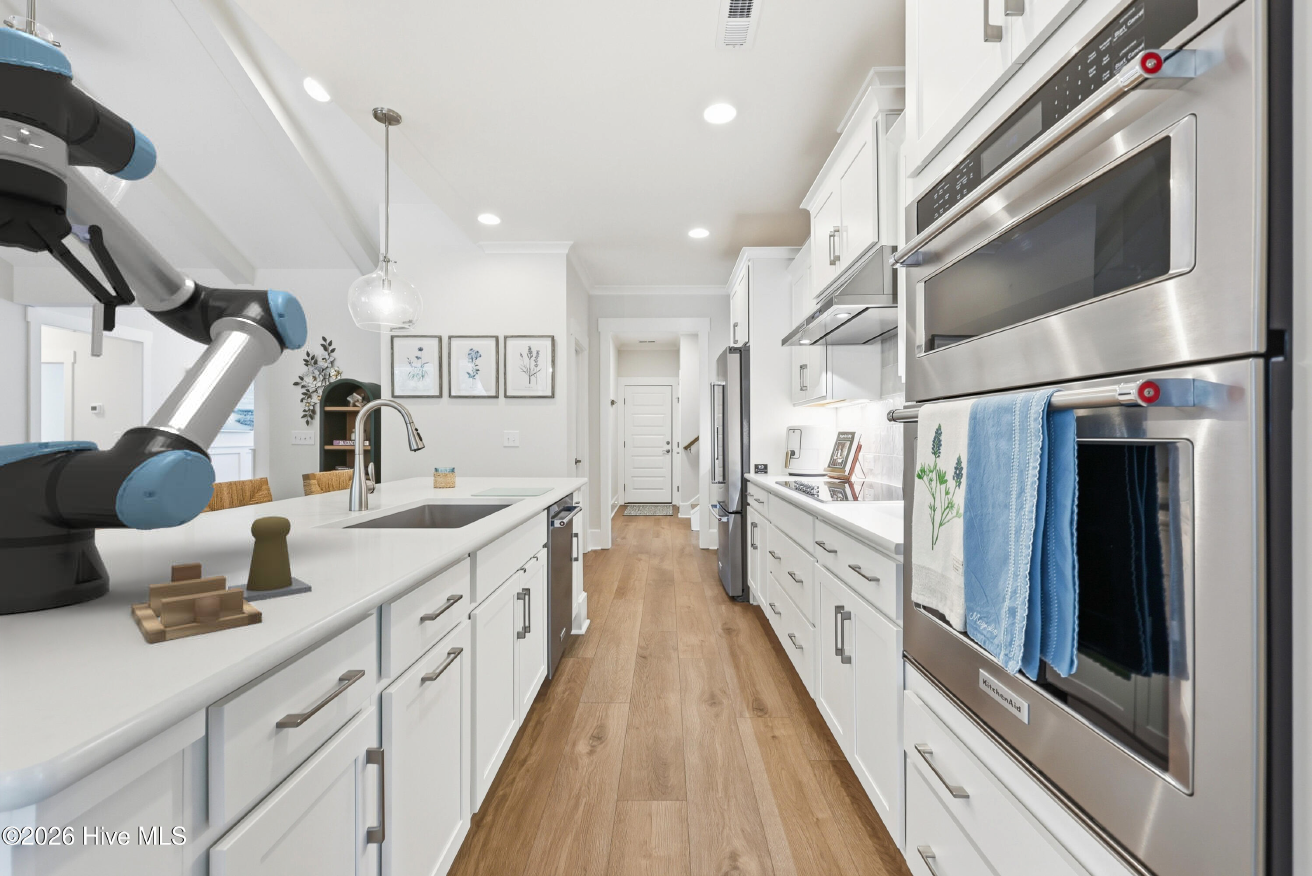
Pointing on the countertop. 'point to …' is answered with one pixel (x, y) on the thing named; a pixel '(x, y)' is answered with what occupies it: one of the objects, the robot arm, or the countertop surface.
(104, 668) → the countertop surface
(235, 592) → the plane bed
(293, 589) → the slate coaster
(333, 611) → the countertop surface
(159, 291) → the robot arm
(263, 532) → the cork
